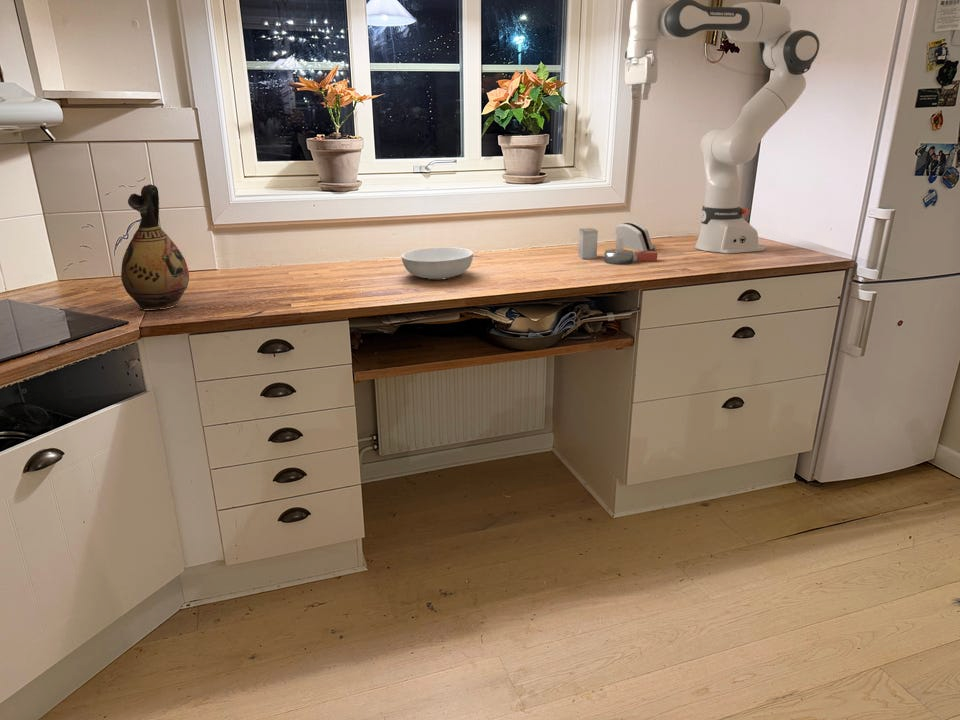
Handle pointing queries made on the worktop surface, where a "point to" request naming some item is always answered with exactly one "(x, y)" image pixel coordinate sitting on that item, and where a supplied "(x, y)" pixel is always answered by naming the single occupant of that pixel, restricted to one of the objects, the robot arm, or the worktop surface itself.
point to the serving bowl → (437, 262)
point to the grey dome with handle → (627, 255)
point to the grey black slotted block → (635, 236)
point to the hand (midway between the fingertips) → (639, 100)
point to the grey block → (588, 243)
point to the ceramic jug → (152, 258)
